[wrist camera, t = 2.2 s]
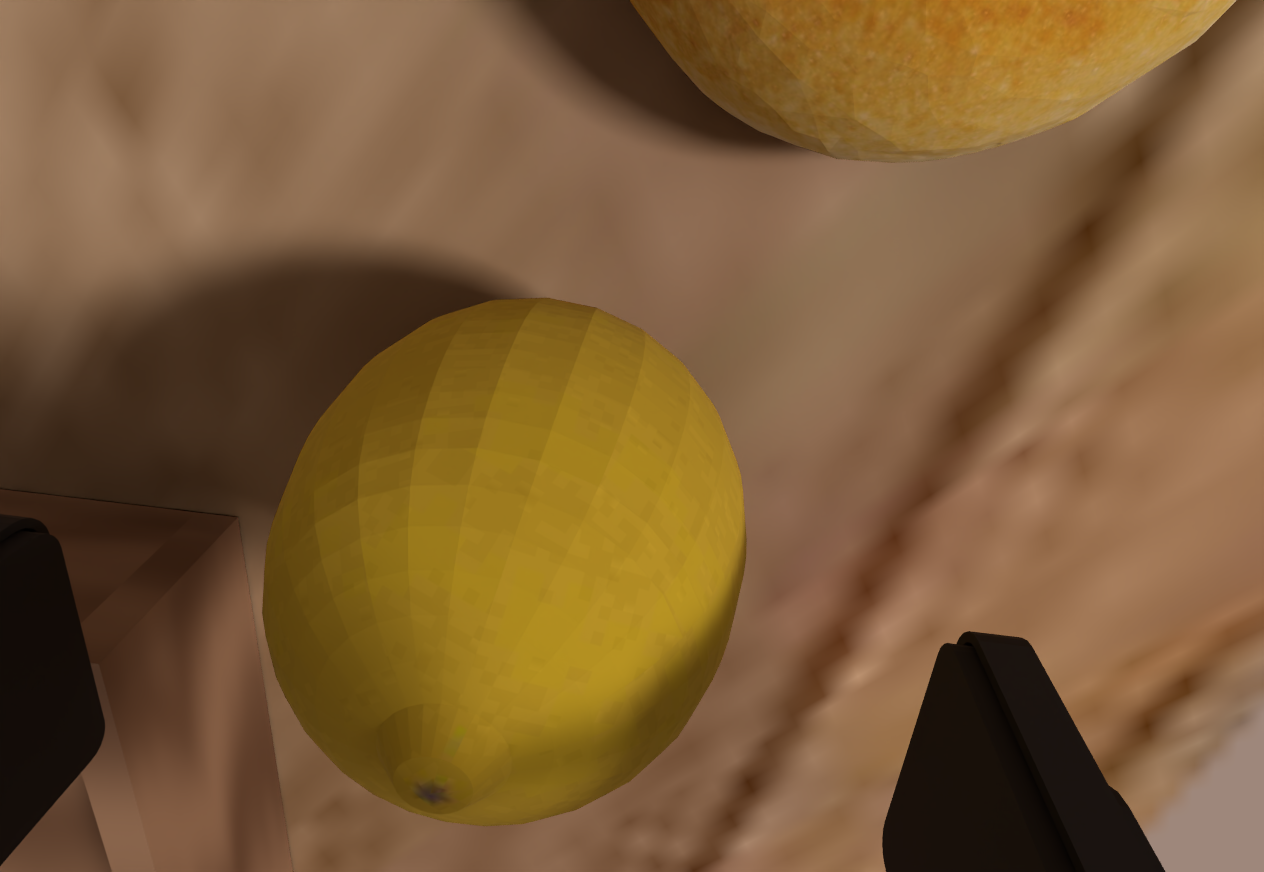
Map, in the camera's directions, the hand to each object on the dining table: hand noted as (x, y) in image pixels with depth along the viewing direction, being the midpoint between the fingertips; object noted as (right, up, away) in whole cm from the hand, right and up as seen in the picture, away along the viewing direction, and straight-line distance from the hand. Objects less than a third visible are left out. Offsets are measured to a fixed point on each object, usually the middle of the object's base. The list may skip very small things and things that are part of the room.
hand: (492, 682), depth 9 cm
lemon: (0, +3, +5) cm, 6 cm away
